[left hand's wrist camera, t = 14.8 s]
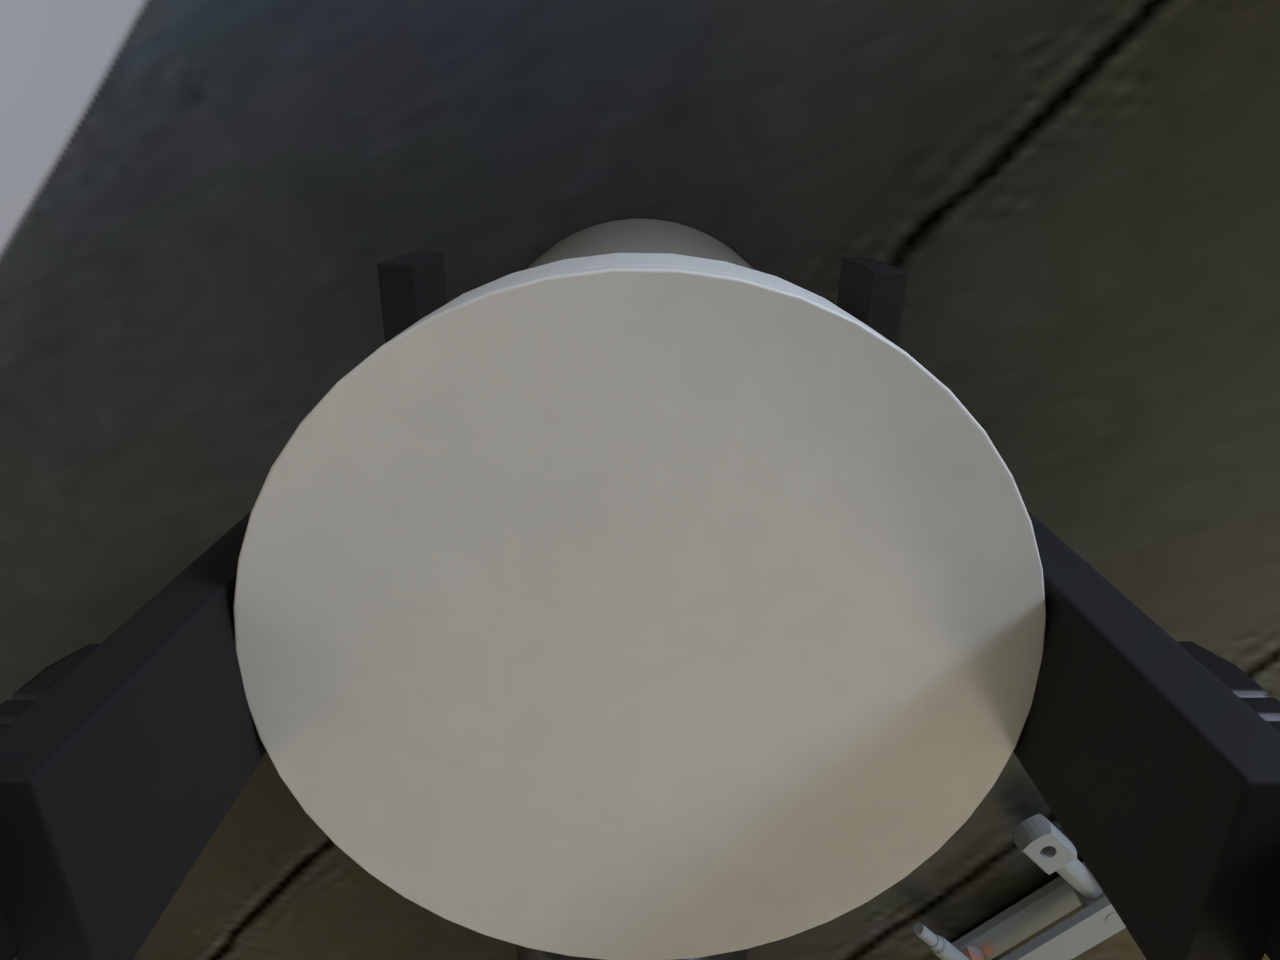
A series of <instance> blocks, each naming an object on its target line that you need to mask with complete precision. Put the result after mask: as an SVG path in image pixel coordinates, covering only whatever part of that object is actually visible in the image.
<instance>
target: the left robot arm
mask: <svg viewBox="0 0 1280 960" xmlns="http://www.w3.org/2000/svg"><path fill="white" fill-rule="evenodd" d="M251 512H252V511H251ZM251 512H250V513H249V514H248V515H246V516H245V517H244V518H243V519H242V520H241V521H240V522H238V523H237V524H236V525H235V526H234V527H233V528H232V529H231V530H229V531H228V532H227V533H226V534H225V535H224V536H223V537H221V538H220V539H219V540H218V541H217V542H216V543H215V544H213V545H212V546H211V547H210V548H209V549H208V550H207V551H206V552H204V553H203V554H202V555H201V556H200V557H199V558H198V559H196V560H195V561H194V562H193V563H192V564H191V565H190V566H189V567H187V568H186V569H185V570H184V571H183V572H182V573H181V574H179V575H178V576H177V577H176V578H175V579H174V580H173V581H171V582H170V583H169V584H168V585H167V586H166V587H165V588H164V589H162V590H161V591H160V592H159V593H158V594H157V595H156V596H154V597H153V598H152V599H151V600H150V601H149V602H148V603H147V604H145V605H144V606H143V607H142V608H141V609H140V610H139V611H137V612H136V613H135V614H134V615H133V616H132V617H131V618H130V619H128V620H127V621H126V622H125V623H124V624H123V625H122V626H120V627H119V628H118V629H117V630H116V631H115V632H114V633H112V634H111V635H110V636H109V637H108V638H107V639H106V640H105V641H103V642H102V643H101V644H100V645H87V646H85V647H83V648H82V649H80V650H78V651H76V652H74V653H72V654H70V655H68V656H67V657H65V658H63V659H61V660H59V661H57V662H55V663H54V664H52V665H50V666H48V667H46V668H45V669H43V670H42V671H41V672H40V673H39V674H37V675H36V676H35V677H34V678H33V679H31V680H30V681H29V682H28V683H27V684H26V685H24V686H23V687H22V688H21V689H20V690H18V691H17V692H16V693H15V694H14V695H13V699H12V701H5V702H4V703H3V704H2V705H1V706H0V960H13V958H14V957H15V956H16V957H17V960H133V958H134V957H135V955H136V954H137V952H138V950H139V949H140V947H141V946H142V944H143V943H144V941H145V940H146V938H147V936H148V935H149V933H150V932H151V930H152V929H153V927H154V925H155V924H156V922H157V921H158V919H159V918H160V916H161V915H162V913H163V911H164V910H165V908H166V907H167V905H168V904H169V902H170V901H171V899H172V897H173V896H174V894H175V893H176V891H177V890H178V888H179V886H180V885H181V883H182V882H183V880H184V879H185V877H186V876H187V874H188V872H189V871H190V869H191V868H192V866H193V865H194V863H195V862H196V860H197V858H198V857H199V855H200V854H201V852H202V851H203V849H204V848H205V846H206V844H207V843H208V841H209V840H210V838H211V837H212V835H213V833H214V832H215V830H216V829H217V827H218V826H219V824H220V823H221V821H222V819H223V818H224V816H225V815H226V813H227V812H228V810H229V809H230V807H231V805H232V804H233V802H234V801H235V799H236V798H237V796H238V794H239V793H240V791H241V790H242V788H243V787H244V785H245V784H246V782H247V780H248V779H249V777H250V776H251V774H252V773H253V771H254V770H255V768H256V766H257V765H258V763H259V762H260V760H261V759H262V757H263V755H264V754H265V752H266V749H265V747H264V745H263V743H262V741H261V739H260V737H259V734H258V732H257V729H256V726H255V723H254V721H253V718H252V715H251V712H250V710H249V706H248V703H247V699H246V694H245V690H244V685H243V681H242V676H241V671H240V667H239V662H238V658H237V653H236V648H235V629H234V610H233V606H234V596H235V587H236V577H237V568H238V559H239V555H240V552H241V548H242V544H243V540H244V537H245V533H246V529H247V526H248V522H249V518H250V515H251ZM1027 512H1028V514H1029V517H1030V519H1031V522H1032V526H1033V530H1034V534H1035V539H1036V543H1037V547H1038V551H1039V555H1040V560H1041V564H1042V568H1043V580H1044V594H1045V607H1046V625H1045V637H1044V649H1043V655H1042V661H1041V665H1040V670H1039V674H1038V679H1037V683H1036V688H1035V692H1034V696H1033V701H1032V705H1031V709H1030V712H1029V714H1028V717H1027V720H1026V722H1025V725H1024V727H1023V730H1022V732H1021V735H1020V737H1019V740H1018V742H1017V745H1016V747H1015V749H1014V750H1013V752H1014V753H1015V755H1016V756H1017V758H1018V759H1019V761H1020V762H1021V764H1022V766H1023V767H1024V769H1025V770H1026V772H1027V773H1028V775H1029V776H1030V778H1031V780H1032V781H1033V783H1034V784H1035V786H1036V787H1037V789H1038V791H1039V792H1040V794H1041V795H1042V797H1043V798H1044V800H1045V801H1046V803H1047V805H1048V806H1049V808H1050V809H1051V811H1052V812H1053V814H1054V815H1055V817H1056V819H1057V820H1058V822H1059V823H1060V825H1061V826H1062V828H1063V830H1064V831H1065V833H1066V834H1067V836H1068V837H1069V839H1070V840H1071V842H1072V844H1073V845H1074V847H1075V848H1076V850H1077V851H1078V853H1079V854H1080V856H1081V858H1082V859H1083V861H1084V862H1085V864H1086V865H1087V867H1088V869H1089V870H1090V872H1091V873H1092V875H1093V876H1094V878H1095V879H1096V881H1097V883H1098V884H1099V886H1100V887H1101V889H1102V890H1103V892H1104V893H1105V895H1106V897H1107V898H1108V900H1109V901H1110V903H1111V904H1112V906H1113V908H1114V909H1115V911H1116V912H1117V914H1118V915H1119V917H1120V918H1121V920H1122V922H1123V923H1124V925H1125V926H1126V928H1127V929H1128V931H1129V932H1130V934H1131V936H1132V937H1133V939H1134V940H1135V942H1136V943H1137V945H1138V947H1139V948H1140V950H1141V951H1142V953H1143V954H1144V956H1145V957H1146V959H1147V960H1262V958H1263V956H1264V953H1266V955H1267V956H1268V957H1269V958H1270V960H1280V702H1279V701H1278V700H1276V699H1275V698H1269V697H1268V692H1267V691H1266V690H1264V689H1263V688H1262V687H1261V686H1260V685H1258V684H1257V683H1256V682H1255V681H1254V680H1252V679H1251V678H1250V677H1249V676H1248V675H1246V674H1245V673H1244V672H1243V671H1242V670H1240V669H1239V668H1238V667H1237V666H1236V665H1234V664H1232V663H1230V662H1228V661H1227V660H1225V659H1223V658H1221V657H1219V656H1217V655H1215V654H1213V653H1211V652H1210V651H1208V650H1206V649H1204V648H1202V647H1200V646H1198V645H1196V644H1195V643H1193V642H1176V641H1175V640H1174V639H1173V638H1172V637H1170V636H1169V635H1168V634H1167V633H1166V632H1165V631H1164V630H1162V629H1161V628H1160V627H1159V626H1158V625H1157V624H1156V623H1155V622H1153V621H1152V620H1151V619H1150V618H1149V617H1148V616H1147V615H1145V614H1144V613H1143V612H1142V611H1141V610H1140V609H1139V608H1138V607H1136V606H1135V605H1134V604H1133V603H1132V602H1131V601H1130V600H1128V599H1127V598H1126V597H1125V596H1124V595H1123V594H1122V593H1120V592H1119V591H1118V590H1117V589H1116V588H1115V587H1114V586H1113V585H1111V584H1110V583H1109V582H1108V581H1107V580H1106V579H1105V578H1103V577H1102V576H1101V575H1100V574H1099V573H1098V572H1097V571H1096V570H1094V569H1093V568H1092V567H1091V566H1090V565H1089V564H1088V563H1086V562H1085V561H1084V560H1083V559H1082V558H1081V557H1080V556H1078V555H1077V554H1076V553H1075V552H1074V551H1073V550H1072V549H1071V548H1069V547H1068V546H1067V545H1066V544H1065V543H1064V542H1063V541H1061V540H1060V539H1059V538H1058V537H1057V536H1056V535H1055V534H1054V533H1052V532H1051V531H1050V530H1049V529H1048V528H1047V527H1046V526H1044V525H1043V524H1042V523H1041V522H1040V521H1039V520H1038V519H1037V518H1035V517H1034V516H1033V515H1032V514H1031V513H1030V512H1029V511H1027Z"/></svg>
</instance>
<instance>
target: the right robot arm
mask: <svg viewBox="0 0 1280 960" xmlns="http://www.w3.org/2000/svg"><path fill="white" fill-rule="evenodd" d="M377 265H378V274H379V284H380V293H381V303H382V312H383V322H384V331H385V341H386V343H387V342H388V341H390V340H391V339H393V338H394V337H395V336H397V335H398V334H400V333H401V332H403V331H404V330H406V329H407V328H409V327H410V326H412V325H413V324H415V323H416V322H417V321H419V320H420V319H422V318H424V317H425V316H427V315H429V314H430V313H432V312H434V311H435V310H437V309H439V308H440V307H442V306H444V305H445V304H446V291H445V278H444V264H443V252H409V253H407V254H404V255H401V256H398V257H395V258H393V259H390V260H387V261H384V262H382V263H379V264H377ZM907 273H908V272H906V271H904V270H901V269H899V268H896V267H893V266H891V265H888V264H885V263H883V262H880V261H878V260H875V259H866V258H842V264H841V274H840V283H839V293H838V302H837V306H838V307H839V308H841V309H842V310H844V311H845V312H847V313H849V314H850V315H852V316H853V317H855V318H856V319H858V320H860V321H861V322H863V323H864V324H866V325H867V326H869V327H870V328H872V329H873V330H875V331H876V332H878V333H879V334H881V335H882V336H883V337H885V338H886V339H888V340H889V341H891V342H892V343H894V344H895V345H897V346H898V339H899V332H900V324H901V317H902V310H903V302H904V295H905V288H906V280H907ZM747 950H748V949H745V950H739V951H733V952H728V953H722V954H717V955H711V956H705V957H698V958H686V959H674V960H747ZM517 959H518V960H604V959H594V958H584V957H574V956H567V955H562V954H557V953H552V952H547V951H542V950H537V949H532V948H527V947H523V946H520V945H517Z"/></svg>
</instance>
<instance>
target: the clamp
mask: <svg viewBox="0 0 1280 960" xmlns="http://www.w3.org/2000/svg"><path fill="white" fill-rule="evenodd" d="M1012 834H1013V840H1014V842H1015V844H1016V846H1017V847H1018V848H1019V849H1020V850H1021V851H1023V852H1024V853H1025V854H1026V855H1027V856H1028V857H1029V858H1030V859H1031V860H1032V861H1033V862H1034V863H1036V864H1037V865H1038V866H1039V867H1040V868H1041V869H1042V870H1043V871H1044V872H1046V873H1047V874H1049V875H1050V874H1052V873H1053V872H1055V871H1056V872H1057V873H1058V874H1059V875H1060V876H1059V877H1058V878H1056V879H1054V880H1053V881H1051V882H1050V883H1048V884H1046V885H1045V886H1043V887H1042V888H1040V889H1038V890H1037V891H1035V892H1034V893H1032V894H1030V895H1029V896H1027V897H1025V898H1024V899H1022V900H1021V901H1019V902H1017V903H1016V904H1014V905H1013V906H1011V907H1009V908H1008V909H1006V910H1005V911H1003V912H1001V913H1000V914H998V915H996V916H995V917H993V918H992V919H990V920H988V921H987V922H985V923H984V924H982V925H980V926H979V927H977V928H976V929H974V930H972V931H971V932H969V933H968V934H966V935H964V936H963V937H961V938H959V939H958V940H956V941H955V942H953V943H950V942H948V941H947V940H946V939H945V938H944V937H942V936H938V935H937V934H936V933H933V932H932V931H930V930H929V929H928V928H927V927H926V926H924V925H923V924H922V923H916V924H915V925H914V927H913V932H914V933H915V934H916V935H917V936H918V937H919V938H920V939H922V940H923V941H924V942H925V943H927V946H928V947H930V948H931V951H932V952H933V953H934V954H935V955H936V956H937V957H939V958H940V959H941V960H991V959H993V958H995V957H996V956H998V955H1000V954H1001V953H1003V952H1005V951H1006V950H1008V949H1010V948H1011V947H1013V946H1015V945H1016V944H1018V943H1020V942H1021V941H1023V940H1024V939H1026V938H1028V937H1029V936H1031V935H1033V934H1034V933H1036V932H1038V931H1039V930H1041V929H1043V928H1044V927H1046V926H1048V925H1049V924H1051V923H1053V922H1054V921H1056V920H1058V919H1059V918H1061V917H1063V916H1064V915H1066V914H1067V913H1069V912H1071V911H1072V910H1074V909H1076V908H1077V907H1079V906H1081V905H1082V906H1083V907H1084V909H1082V910H1081V911H1079V912H1077V913H1076V914H1074V915H1072V916H1071V917H1069V918H1067V919H1066V920H1064V921H1062V922H1061V923H1059V924H1057V925H1056V926H1054V927H1053V928H1051V929H1049V930H1048V931H1046V932H1044V933H1043V934H1041V935H1039V936H1038V937H1036V938H1034V939H1033V940H1031V941H1029V942H1028V943H1026V944H1024V945H1023V946H1021V947H1019V948H1018V949H1016V950H1014V951H1013V952H1011V953H1009V954H1008V955H1006V956H1004V957H1003V958H1001V959H999V960H1071V959H1073V958H1075V957H1076V956H1078V955H1080V954H1082V953H1083V952H1085V951H1087V950H1088V949H1090V948H1092V947H1093V946H1095V945H1097V944H1099V943H1100V942H1102V941H1104V940H1105V939H1107V938H1109V937H1111V936H1112V935H1114V934H1116V933H1117V932H1119V931H1121V930H1122V929H1124V928H1126V926H1125V925H1124V923H1123V922H1122V920H1121V918H1120V917H1119V915H1118V914H1117V912H1116V911H1115V909H1114V908H1113V906H1112V904H1111V903H1110V901H1109V900H1108V898H1107V897H1106V895H1105V893H1104V892H1103V890H1102V889H1101V887H1100V886H1099V884H1098V883H1097V881H1096V879H1095V878H1094V876H1093V875H1092V873H1091V872H1090V870H1089V869H1088V867H1087V865H1086V864H1085V862H1084V861H1083V862H1082V863H1081V862H1080V861H1079V860H1078V859H1077V850H1076V848H1075V847H1074V845H1073V844H1072V842H1071V841H1070V840H1069V839H1068V838H1067V837H1066V836H1064V835H1063V834H1062V833H1061V832H1060V831H1059V830H1058V829H1057V828H1056V827H1055V826H1054V825H1053V824H1052V823H1051V822H1050V821H1049V820H1048V819H1047V818H1045V817H1044V816H1043V815H1041V814H1037V815H1034V816H1032V817H1030V818H1028V819H1026V820H1025V821H1023V822H1022V823H1020V824H1019V825H1018V826H1017V827H1016V828H1015V829H1014V830H1013V831H1012Z"/></svg>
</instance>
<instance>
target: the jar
mask: <svg viewBox="0 0 1280 960" xmlns="http://www.w3.org/2000/svg"><path fill="white" fill-rule="evenodd" d="M612 253H672V254H679V255H685V256H692V257H699V258H705V259H712V260H719V261H725V262H729V263H732V264H736V265H739V266H743V267H746V268H749V269H753V270H755V269H754V268H753V267H751V266H750V265H749V264H748V263H747V262H746V261H745V260H743V259H742V258H741V257H740V256H739V255H738V254H736V253H735V252H734V251H733V250H732V249H731V248H729V247H728V246H726V245H724V244H723V243H721V242H720V241H718V240H717V239H715V238H714V237H712V236H709V235H707V234H705V233H703V232H701V231H699V230H697V229H694V228H691V227H688V226H685V225H681V224H678V223H675V222H669V221H663V220H657V219H625V220H616V221H611V222H607V223H603V224H599V225H595V226H592V227H589V228H587V229H584V230H582V231H579V232H577V233H574V234H572V235H571V236H569V237H567V238H565V239H564V240H562V241H560V242H558V243H557V244H555V245H554V246H553V247H551V248H550V249H549V250H547V251H546V252H545V253H544V254H542V255H541V256H540V257H539V258H537V259H536V260H535V261H534V262H533V263H532V264H530V265H529V266H528V267H527V268H526V269H530V268H534V267H537V266H541V265H545V264H549V263H552V262H556V261H560V260H564V259H571V258H580V257H588V256H596V255H604V254H612ZM526 269H525V270H526Z"/></svg>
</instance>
